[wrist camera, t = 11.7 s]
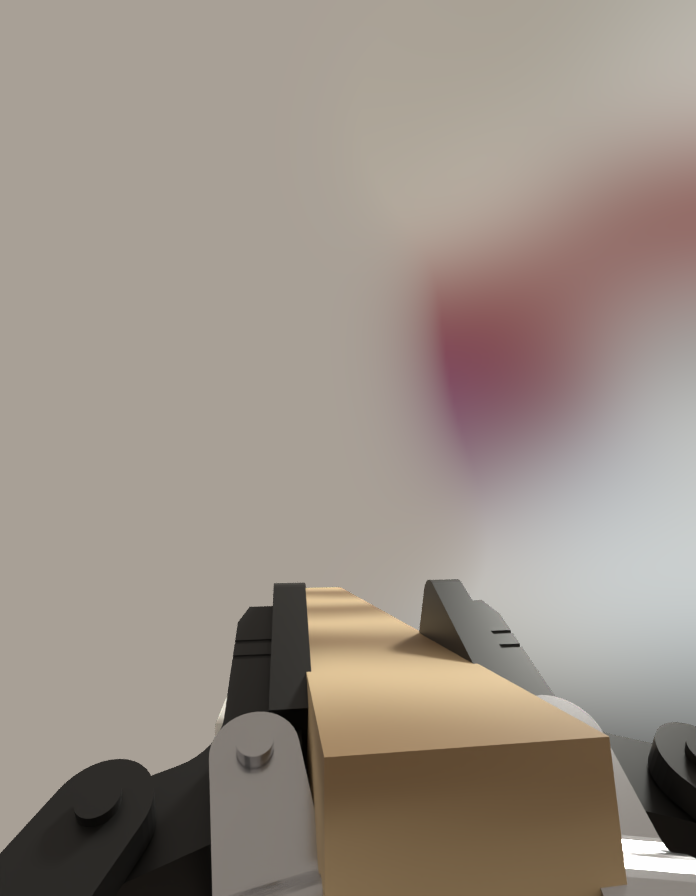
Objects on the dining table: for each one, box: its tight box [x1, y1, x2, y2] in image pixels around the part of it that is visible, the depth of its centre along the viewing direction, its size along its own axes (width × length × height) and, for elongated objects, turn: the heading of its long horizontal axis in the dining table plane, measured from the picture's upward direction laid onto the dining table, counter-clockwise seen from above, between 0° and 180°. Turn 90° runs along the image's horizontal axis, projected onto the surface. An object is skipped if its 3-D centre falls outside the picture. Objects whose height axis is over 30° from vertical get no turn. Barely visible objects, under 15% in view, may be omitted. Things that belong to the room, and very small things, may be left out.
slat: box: [306, 587, 627, 896], centre depth 16 cm, size 24×3×2 cm, turn 8°
